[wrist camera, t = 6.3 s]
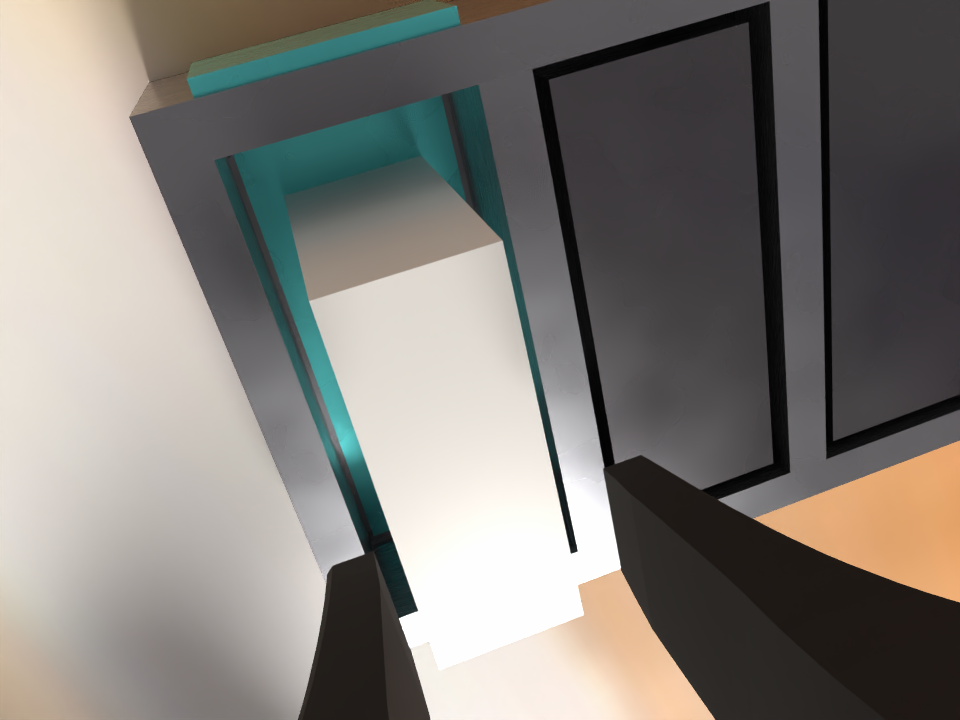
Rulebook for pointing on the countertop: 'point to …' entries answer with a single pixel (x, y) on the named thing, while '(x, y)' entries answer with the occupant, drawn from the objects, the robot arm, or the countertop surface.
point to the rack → (608, 234)
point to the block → (439, 401)
